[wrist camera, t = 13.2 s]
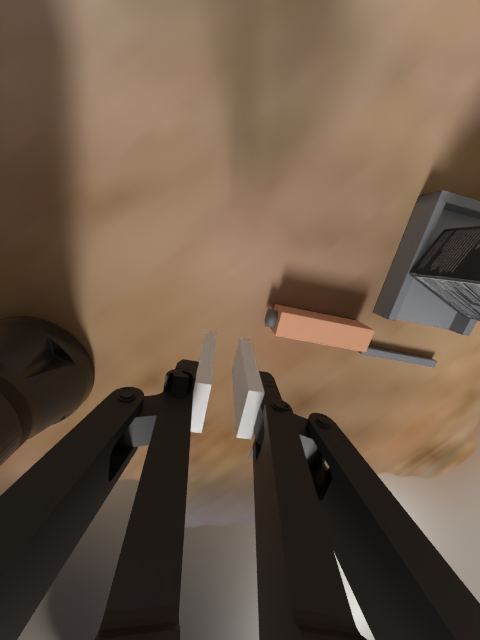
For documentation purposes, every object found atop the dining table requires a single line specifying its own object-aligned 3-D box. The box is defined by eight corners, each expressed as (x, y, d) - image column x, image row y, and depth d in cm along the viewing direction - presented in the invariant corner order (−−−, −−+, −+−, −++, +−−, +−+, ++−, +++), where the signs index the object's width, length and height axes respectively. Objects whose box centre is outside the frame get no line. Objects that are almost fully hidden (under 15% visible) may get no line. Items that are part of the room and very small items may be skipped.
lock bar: (262, 323, 31) (267, 334, 28) (267, 302, 31) (273, 310, 27) (349, 340, 33) (365, 352, 29) (357, 320, 32) (374, 330, 28)
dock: (357, 351, 34) (370, 361, 31) (418, 196, 28) (442, 190, 25) (428, 364, 36) (447, 375, 32) (501, 219, 30) (533, 216, 27)
